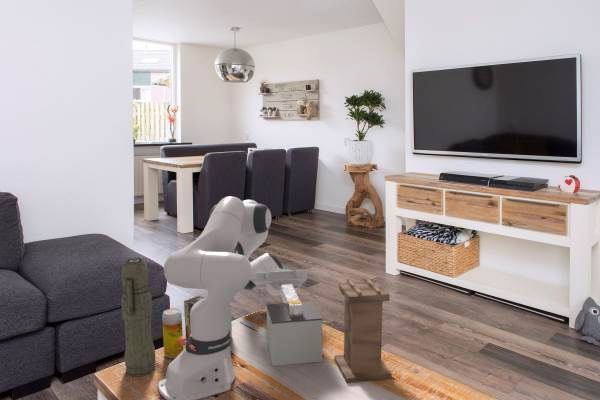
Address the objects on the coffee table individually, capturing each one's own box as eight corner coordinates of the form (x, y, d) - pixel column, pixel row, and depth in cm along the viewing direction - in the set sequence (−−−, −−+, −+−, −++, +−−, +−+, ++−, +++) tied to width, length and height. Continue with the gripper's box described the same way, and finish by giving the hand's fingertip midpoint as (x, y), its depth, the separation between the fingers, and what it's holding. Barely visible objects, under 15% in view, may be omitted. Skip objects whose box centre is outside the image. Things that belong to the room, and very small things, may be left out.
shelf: (267, 344, 163) (266, 304, 160) (312, 340, 165) (312, 301, 163) (272, 366, 148) (272, 322, 146) (322, 361, 151) (322, 318, 149)
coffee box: (216, 346, 162) (215, 301, 159) (201, 352, 157) (200, 306, 154) (200, 338, 167) (198, 295, 165) (185, 344, 163) (183, 300, 160)
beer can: (178, 359, 152) (176, 315, 150) (161, 358, 153) (158, 314, 151) (186, 351, 158) (184, 308, 156) (169, 349, 159) (167, 307, 157)
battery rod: (280, 295, 169) (280, 284, 168) (292, 294, 170) (291, 283, 169) (289, 318, 149) (289, 306, 148) (302, 317, 149) (302, 305, 149)
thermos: (159, 359, 153) (153, 254, 147) (151, 378, 141) (144, 265, 136) (131, 360, 152) (124, 255, 147) (120, 379, 140) (113, 266, 135)
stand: (334, 360, 152) (334, 278, 147) (375, 356, 154) (377, 276, 150) (346, 383, 138) (347, 294, 134) (391, 378, 141) (394, 291, 136)
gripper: (252, 273, 187) (254, 266, 174) (303, 270, 191) (308, 262, 178) (253, 289, 185) (255, 282, 172) (304, 286, 189) (310, 279, 176)
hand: (283, 272), depth 175 cm, fingers open, 8 cm apart
